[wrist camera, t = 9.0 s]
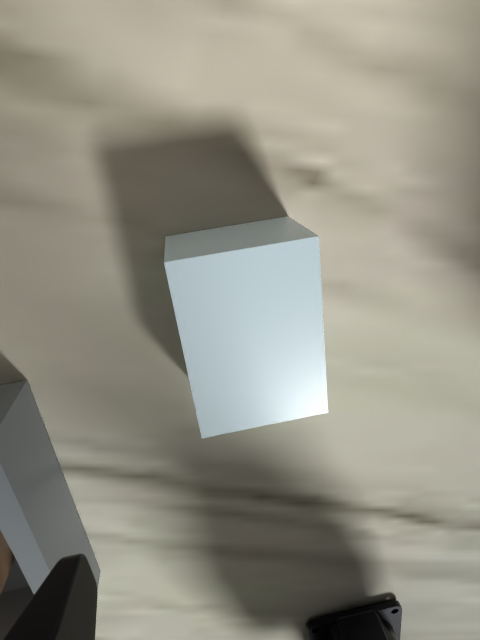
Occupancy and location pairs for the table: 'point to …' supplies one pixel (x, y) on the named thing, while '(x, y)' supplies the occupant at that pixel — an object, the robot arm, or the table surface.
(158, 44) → the table surface
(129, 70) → the table surface
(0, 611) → the charcoal tote
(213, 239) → the pale blue carton
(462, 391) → the table surface
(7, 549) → the walnut block
